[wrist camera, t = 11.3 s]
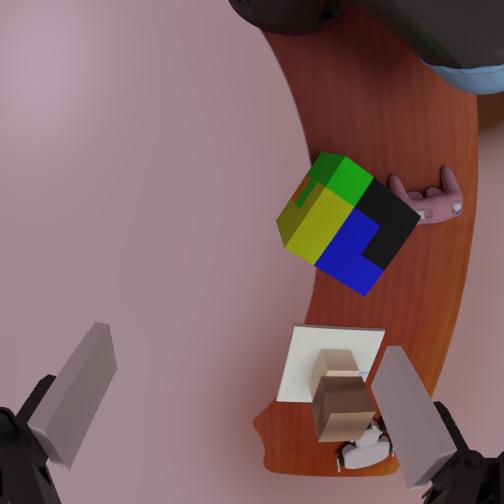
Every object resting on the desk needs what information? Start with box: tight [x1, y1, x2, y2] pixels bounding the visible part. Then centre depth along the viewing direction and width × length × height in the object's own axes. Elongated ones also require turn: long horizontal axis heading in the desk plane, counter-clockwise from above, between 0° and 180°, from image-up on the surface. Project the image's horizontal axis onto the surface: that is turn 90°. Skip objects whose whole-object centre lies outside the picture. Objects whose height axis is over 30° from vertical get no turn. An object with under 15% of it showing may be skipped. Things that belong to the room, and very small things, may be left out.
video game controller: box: [389, 166, 463, 225], centre depth 35 cm, size 10×5×7 cm, turn 103°
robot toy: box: [337, 418, 394, 472], centre depth 52 cm, size 12×4×15 cm
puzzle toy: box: [276, 152, 421, 296], centre depth 33 cm, size 10×10×10 cm
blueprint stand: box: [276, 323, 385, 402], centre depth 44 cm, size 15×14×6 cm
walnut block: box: [311, 376, 376, 442], centre depth 38 cm, size 6×6×7 cm
